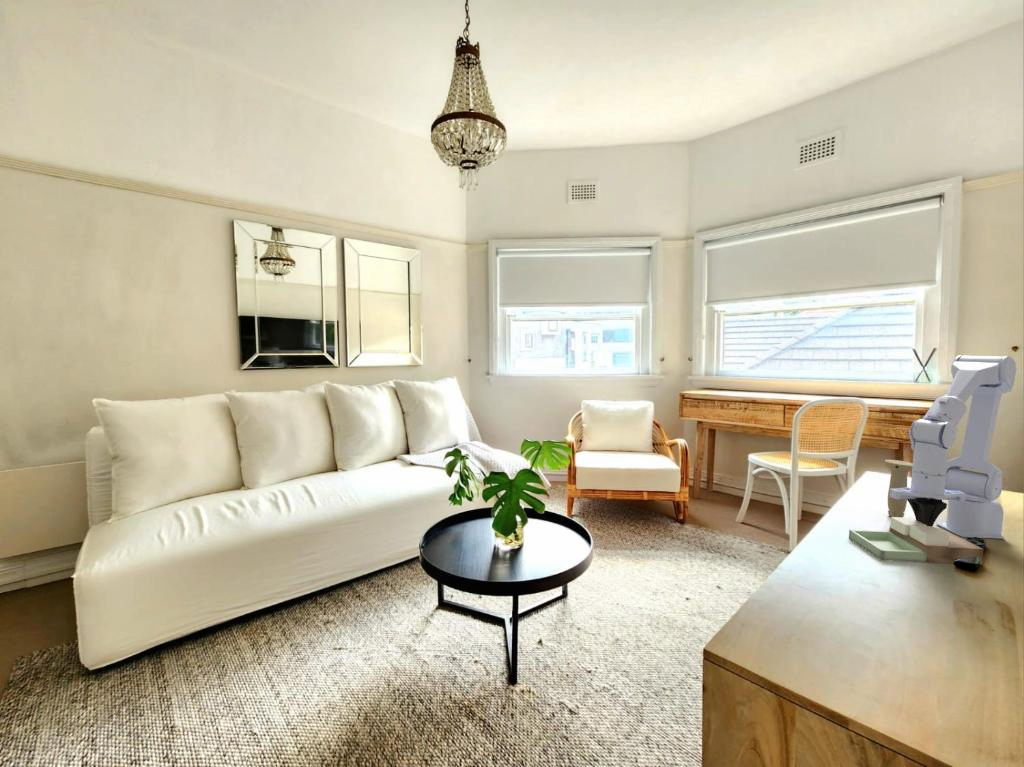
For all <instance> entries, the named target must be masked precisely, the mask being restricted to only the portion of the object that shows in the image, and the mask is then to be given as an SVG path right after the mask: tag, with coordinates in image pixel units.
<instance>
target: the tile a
mask: <svg viewBox="0 0 1024 767" xmlns="http://www.w3.org/2000/svg"><path fill="white" fill-rule="evenodd" d="M910 526H927V525H925V524H923V523H921V522H919V521H917V520H916V518H913V517H905V516H904V517H892V516H890V525H889V528H890V527H891V528H893V529H894V530H896V531H898V532H900V533H901V534H903V535H910Z"/></svg>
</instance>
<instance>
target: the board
mask: <svg viewBox="0 0 1024 767" xmlns="http://www.w3.org/2000/svg"><path fill="white" fill-rule="evenodd" d="M935 528H936V529H938V530H940V531H942V532H944V533H946V534H948V535H949V545H948V546H933V545H924V544H923V543H921V542H919V541H917V540H915V539H914V538H912V537H910V535H903V534H901V533H900V532H898V531H896V530H894V529H893V528H891V527H890V526H889V531H890V532H892V533H894V534H895V535H897V536H899V537H901V538H902V539H904V540H906V541H908V542H909V543H911V544H913V545H915V546H916V547H918V548H920V549H921V550H923V551H925V552H927V555H926V562H925V563H930V564H931V563H933V564H934V563H935V564H936V563H937V564H954V563H953V562H954V561H955V560H958V559H963V558H968V557H979V561H980V565H981V566H982V565H983V558H984V548H983V547H980V546H978V545H976V544H974V543H972V542H971V541H968V540H966V539H964V538H962V537H961V536H959V535H957V534H955V533H954V534H953V532H951V531H949V530H947V529H945V528H943V527H935Z"/></svg>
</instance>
